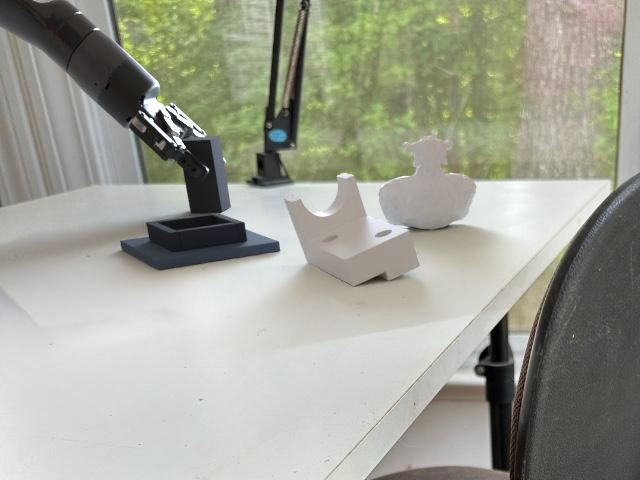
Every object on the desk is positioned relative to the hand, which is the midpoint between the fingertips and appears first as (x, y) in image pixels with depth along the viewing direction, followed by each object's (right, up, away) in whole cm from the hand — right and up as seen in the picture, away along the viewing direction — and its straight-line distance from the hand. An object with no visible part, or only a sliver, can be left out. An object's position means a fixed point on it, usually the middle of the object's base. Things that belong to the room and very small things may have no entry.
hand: (213, 172), depth 124 cm
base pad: (+4, -19, -21) cm, 28 cm away
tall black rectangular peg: (-1, -4, +3) cm, 5 cm away
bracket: (+23, -26, -32) cm, 47 cm away
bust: (+30, -14, -14) cm, 36 cm away
